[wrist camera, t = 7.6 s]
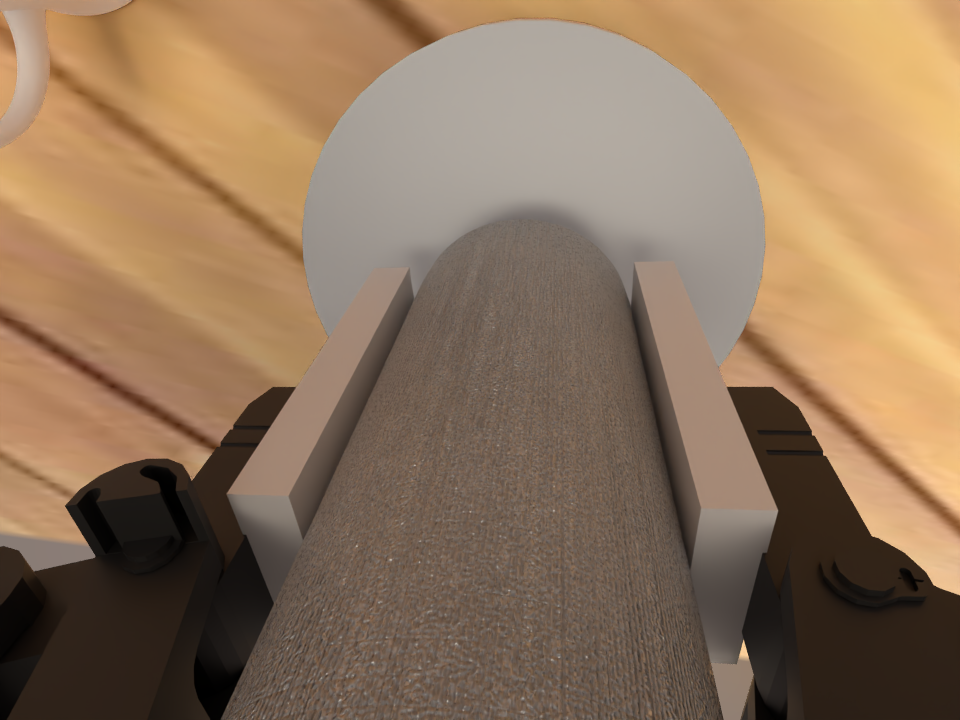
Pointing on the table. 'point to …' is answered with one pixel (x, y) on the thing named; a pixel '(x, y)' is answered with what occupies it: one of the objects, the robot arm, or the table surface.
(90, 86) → the table surface
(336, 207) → the stool
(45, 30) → the white ceramic jug
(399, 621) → the grey tube
